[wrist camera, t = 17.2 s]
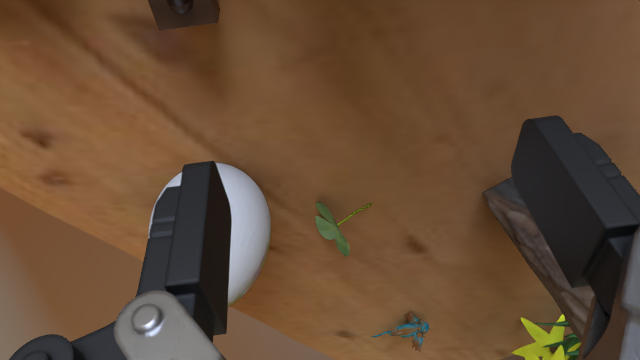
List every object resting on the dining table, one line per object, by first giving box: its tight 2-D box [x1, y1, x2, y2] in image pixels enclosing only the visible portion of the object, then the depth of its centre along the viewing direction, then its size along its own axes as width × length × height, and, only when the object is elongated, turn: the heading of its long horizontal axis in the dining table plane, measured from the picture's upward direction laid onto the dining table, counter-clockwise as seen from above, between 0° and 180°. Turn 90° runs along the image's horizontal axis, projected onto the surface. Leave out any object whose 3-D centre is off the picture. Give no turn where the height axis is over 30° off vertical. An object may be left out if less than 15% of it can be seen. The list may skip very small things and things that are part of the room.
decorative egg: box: [149, 163, 271, 307], centre depth 47 cm, size 12×12×15 cm
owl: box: [482, 178, 595, 341], centre depth 51 cm, size 13×13×20 cm
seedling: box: [315, 202, 372, 257], centre depth 56 cm, size 7×8×6 cm
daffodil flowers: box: [512, 315, 581, 360], centre depth 75 cm, size 17×15×35 cm
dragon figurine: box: [372, 312, 429, 352], centre depth 79 cm, size 6×7×8 cm
